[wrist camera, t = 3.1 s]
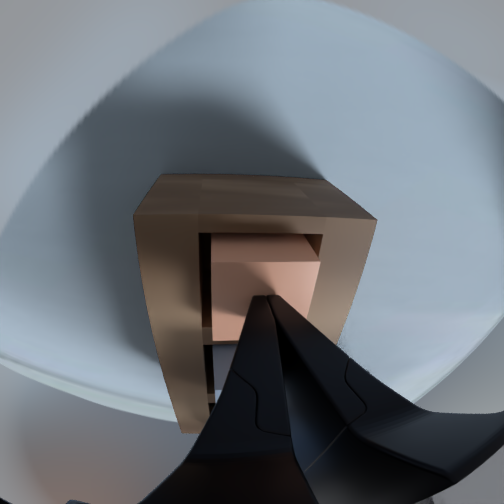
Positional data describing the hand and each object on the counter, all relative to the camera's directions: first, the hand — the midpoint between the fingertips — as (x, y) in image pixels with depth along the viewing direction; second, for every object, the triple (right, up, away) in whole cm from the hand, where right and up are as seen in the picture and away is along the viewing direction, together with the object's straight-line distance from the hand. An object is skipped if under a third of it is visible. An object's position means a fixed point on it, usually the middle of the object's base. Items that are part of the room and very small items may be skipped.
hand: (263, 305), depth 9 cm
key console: (-1, -1, +8) cm, 8 cm away
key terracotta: (-1, +2, +3) cm, 4 cm away
